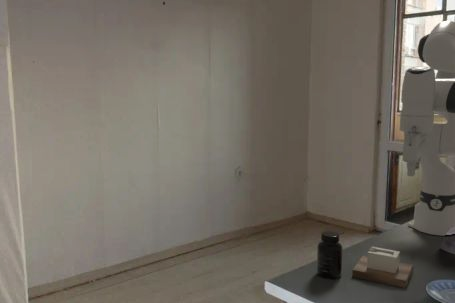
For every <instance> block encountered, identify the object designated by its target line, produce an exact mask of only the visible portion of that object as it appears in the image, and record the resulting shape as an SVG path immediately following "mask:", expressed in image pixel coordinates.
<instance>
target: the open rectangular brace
mask: <svg viewBox="0 0 455 303" xmlns="http://www.w3.org/2000/svg"><path fill="white" fill-rule="evenodd" d="M377 252H383V253H388V254H392V255H388V254H382V253H377ZM400 254H401V252H400V251H398V250H394V249H388V248H387V249H386V248H382V247H375V246H371V247H370V248H369V250H368V251H367V256H368V259H367V268H371V269H376V270H381V271H386V272H391V273H396V271H397V269H398V267H399V262H400Z"/></svg>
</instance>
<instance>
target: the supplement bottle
mask: <svg viewBox="0 0 455 303" xmlns="http://www.w3.org/2000/svg"><path fill="white" fill-rule="evenodd" d="M316 247H317V248H316V250H317V253H316V256H317V258H316V273H317V275H318V276H319V277H320V278H322V279H327V280H336V279H339V278H340V277H341V276H342V274H343V273H342V272H343V270H342V269H343V246H342V244H341V242H340V233H338V232H336V231H331V230H326V231H323V232H321V238H320V241H319V242H318V244H317V246H316Z"/></svg>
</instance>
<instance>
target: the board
mask: <svg viewBox="0 0 455 303" xmlns="http://www.w3.org/2000/svg"><path fill="white" fill-rule="evenodd" d="M367 259H368V255H361V258H360V259H359V260H358V262H357V263H356V265H355V266H354V267H353V268H352V277H353V278H357V279H362V280H367V281H370V282H377V283H380V284H385V285H390V286H393V287H394V286H395V287H400V288H404V289H405V288H407V285H408V283H409V281H410V278H411V276H412V273H413V266H414V265H413V264H410V263H403V262H400V261H399V267H398V269H397V271H396V273H391V272H386V271H381V270H376V269H371V268H367Z"/></svg>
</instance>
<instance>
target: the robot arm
mask: <svg viewBox="0 0 455 303" xmlns="http://www.w3.org/2000/svg"><path fill="white" fill-rule="evenodd" d="M417 55H418V59H419V60H420V61H421V63H425V64H426V65H427V66H416V67H409V68H408V69H406V70H405V72H404V76H403V81H402V88H401V98H400V100H401V101H400V102H401V103H402V106H401V110H400V115H399V116H400V117H399V131H400V132H403V148H402V161H403V162H404V163H406V169H407V171H406V172H407V173H406V174H407V176H408V177H414V176H415V174H416V171H418V170H419V169H420V167H421V171H422V172H421V174H422V177H421V178H422V181H421V182H422V185H421V186H422V187H421V190H420V194H419V200H420V201H419V202H418V203H416V204H415V205H414V213H413V220H411V221H409V222H408V224H407V226H408V227H410V228H413V229H414V230H416V231H418V232H422V233H424V234H428V235H434V236H441V237H442V236H443V237H446V236H445V235H446V233H447V232H448V231H449V230H450V229H451V228H453V227H455V169H454V168H453V167H452V166H450V165H449V164H447V163H445V162H444V161H442V159H441V158H440V157H441V155H442V156H443V155H446V156H455V21H453V20H445V21H441V22H439V23H437V24H436V25H435V26H434V27H433V29H432V30H431V31H430V33H428V34H426V35H423V36H422V38H420V39H419V42H418V45H417ZM435 71H437V72H435ZM435 114H437V115H438V116H440V117H441V118H443V119H445V120H446V123H439V122H437V123H436V122H434V121H435V120H434V119H435Z"/></svg>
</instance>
